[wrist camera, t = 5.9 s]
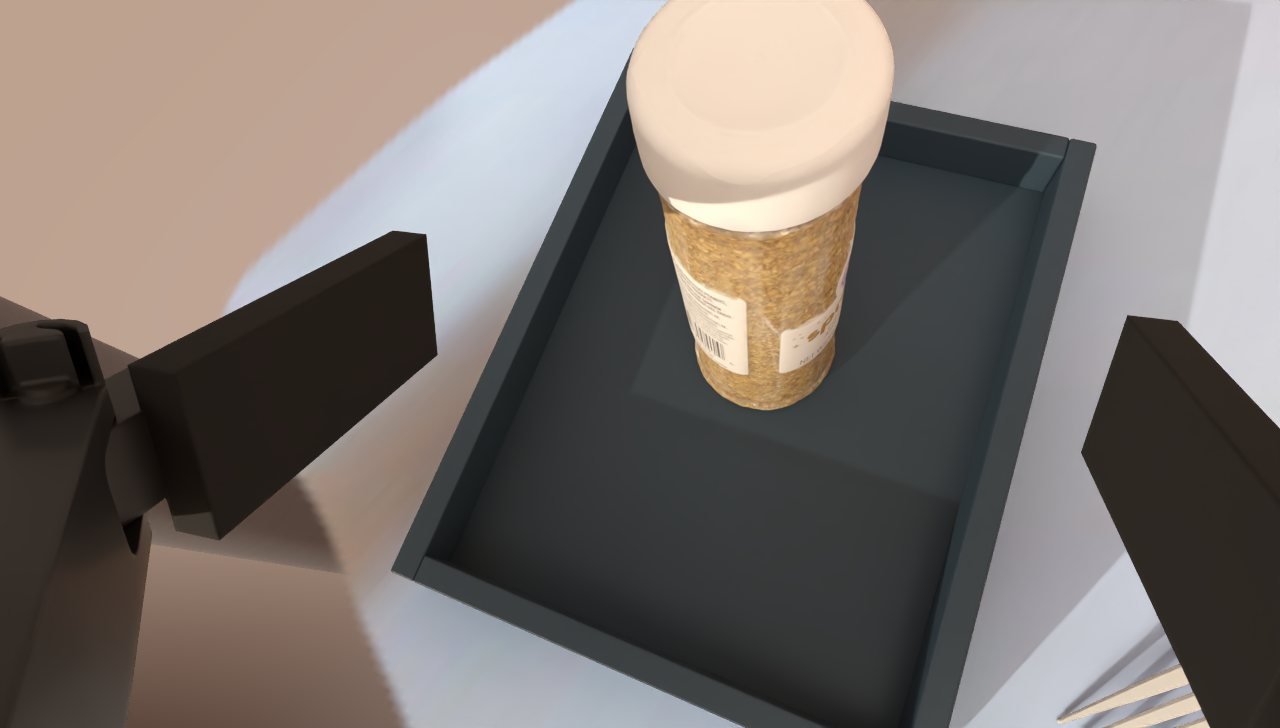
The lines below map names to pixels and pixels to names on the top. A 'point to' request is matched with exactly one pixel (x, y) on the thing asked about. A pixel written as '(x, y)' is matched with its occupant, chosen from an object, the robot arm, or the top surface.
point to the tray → (764, 441)
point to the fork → (1145, 689)
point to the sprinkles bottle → (761, 174)
